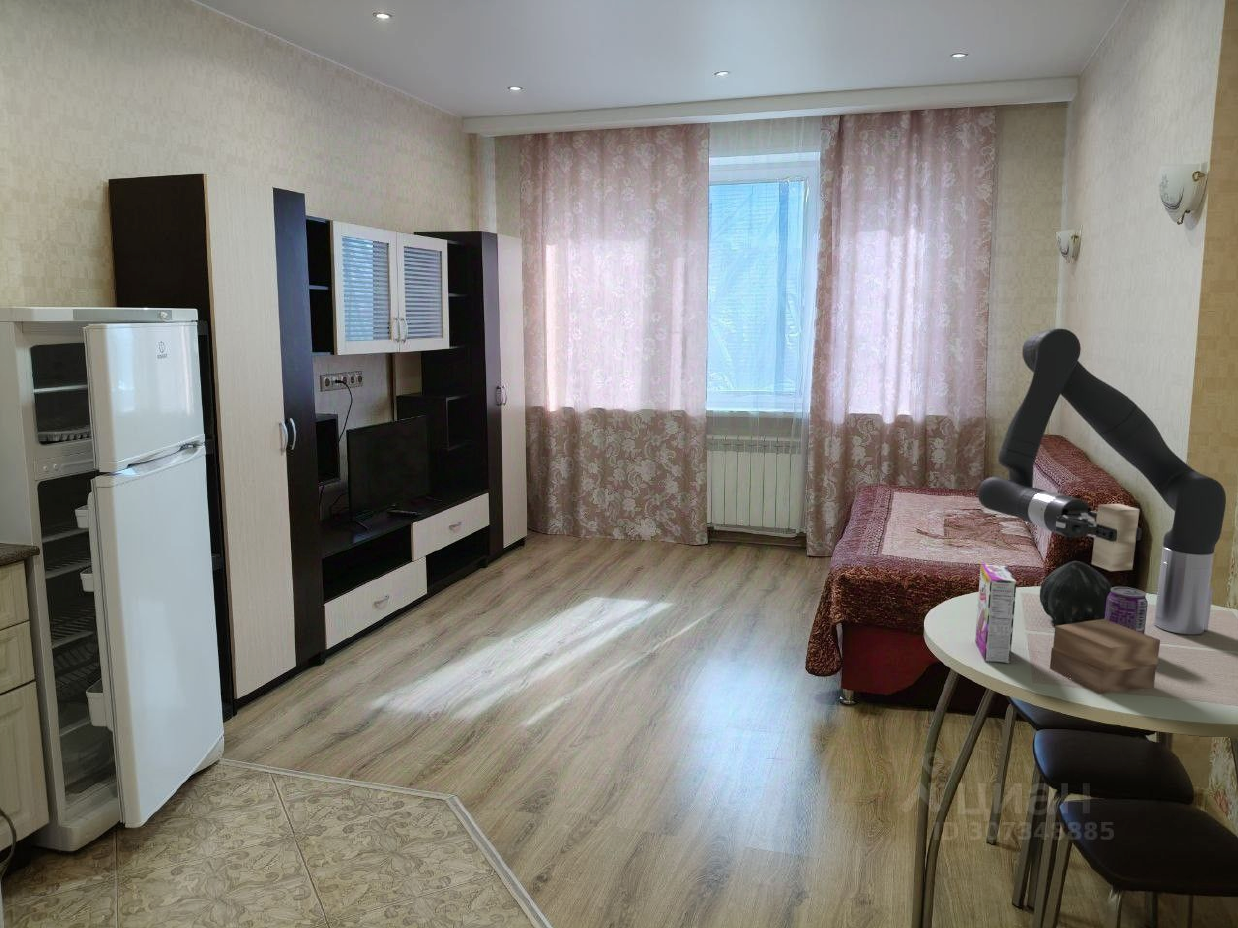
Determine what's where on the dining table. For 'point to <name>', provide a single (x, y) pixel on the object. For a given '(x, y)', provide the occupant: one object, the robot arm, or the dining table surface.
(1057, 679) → the dining table surface
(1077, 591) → the squash
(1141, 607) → the beverage can
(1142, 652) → the upper slab
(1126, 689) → the lower slab
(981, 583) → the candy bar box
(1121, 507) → the birch block
